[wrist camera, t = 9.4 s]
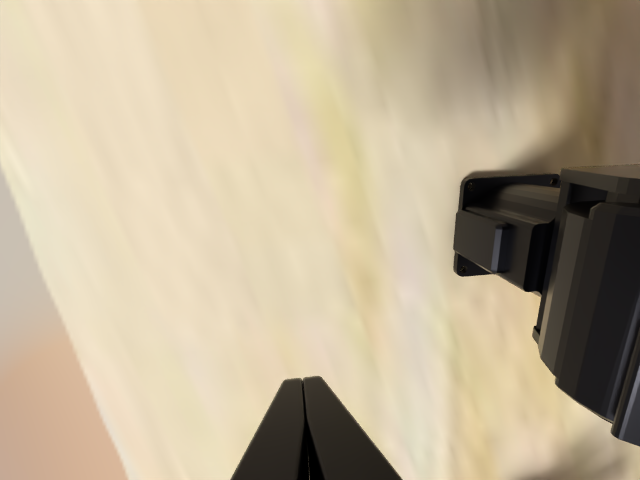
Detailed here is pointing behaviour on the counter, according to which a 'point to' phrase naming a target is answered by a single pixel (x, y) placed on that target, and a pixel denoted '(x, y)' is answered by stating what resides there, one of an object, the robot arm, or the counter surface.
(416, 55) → the counter surface
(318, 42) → the counter surface
